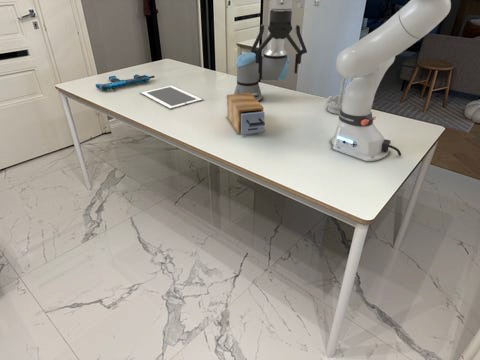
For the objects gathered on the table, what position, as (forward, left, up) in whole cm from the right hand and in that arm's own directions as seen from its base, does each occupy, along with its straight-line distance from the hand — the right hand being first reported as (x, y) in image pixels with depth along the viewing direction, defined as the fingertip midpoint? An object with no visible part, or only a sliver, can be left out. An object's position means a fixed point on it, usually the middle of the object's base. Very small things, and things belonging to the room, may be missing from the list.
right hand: (308, 6), depth 134 cm
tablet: (+64, +34, -48) cm, 87 cm away
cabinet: (+11, +23, -48) cm, 54 cm away
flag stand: (-4, -25, -48) cm, 54 cm away
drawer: (+5, +25, -47) cm, 53 cm away
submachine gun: (+103, +46, -48) cm, 123 cm away
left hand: (-9, +22, -20) cm, 31 cm away
